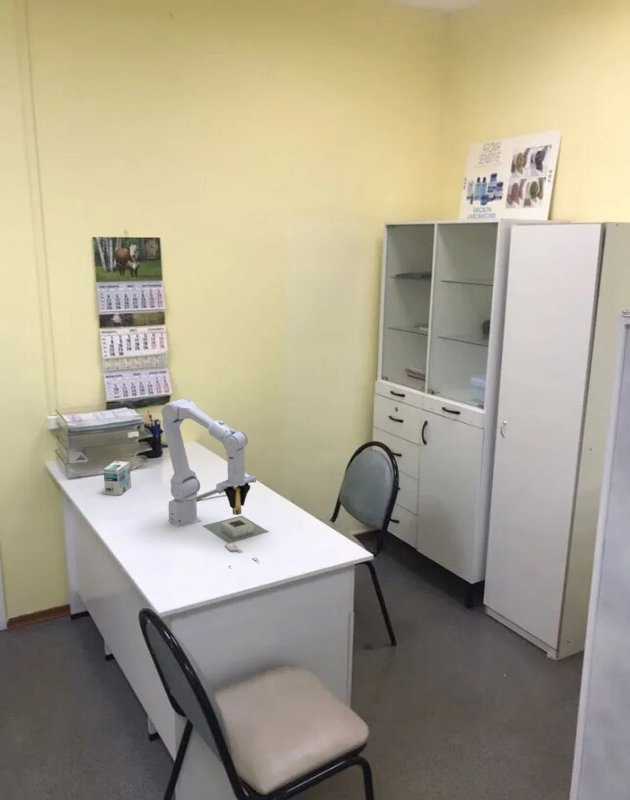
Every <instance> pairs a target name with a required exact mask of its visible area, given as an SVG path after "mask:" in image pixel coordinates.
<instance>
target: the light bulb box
mask: <svg viewBox="0 0 630 800" xmlns="http://www.w3.org/2000/svg"><path fill="white" fill-rule="evenodd" d="M103 479H104V481H103V483H104V494H105V495H110V496H122V495H123V494H124V493H125V492H127V491H128V490H129V489H130V488H132V478H131V462H129V461H122V460H121V461H119V460H114V461H113V462H111V463H110V464H108V465H107V466H105V468H103Z"/></svg>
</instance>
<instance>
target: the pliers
mask: <svg viewBox="0 0 630 800" xmlns="http://www.w3.org/2000/svg"><path fill="white" fill-rule="evenodd" d="M224 548H225V549H226V550H227V551H228V552H231V553H233V552H234V553H238V554H242V553H243V550H242V549H241V548H240V547H238V545H237V544H236V542H233V543H232V546H230V545H229V544H228V543H224ZM253 559H256V561H258V562H259V563H260V561H259V559H258V558H257V557H254V558H252V560H253ZM256 561H255V562H256ZM228 566H229V567H232V565H228ZM229 567H228V568H229Z"/></svg>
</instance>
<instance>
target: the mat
mask: <svg viewBox="0 0 630 800" xmlns="http://www.w3.org/2000/svg"><path fill="white" fill-rule="evenodd" d="M240 517H242V518H243V519H245V520H247V521H248V522H250V523H252V524H253V529H254V533H253V534H250V535H246V536H243V537H239V538H236V539H232V538H231V537H229V536H228V535H226V534H225V533H223V532H222V531H221V523H222V522H225V521H229V520H233V519H236V518H240ZM202 527H203V528H204V529H206V530H208V531H209V532H210V533H212V534H214V535H215V536H217V538H219V539H221V540H222V541H223V542H225V543H226V544H228V545H229V544H231V543H232V544H233V543H236V542H239V541H242V540H245V539H249V538H253V537H257V536H260V535H263V534H268V533H269V531H268V530H267V529H265V528H263V527H262V526H261V525H259V524H257V523H255V522H254V521H252V520H250V519H249V518H247V517H246V516H244V515H241V514H240V515H236V516H234V517H230V518H227V519H226V518H225V519H223V520H220V521H216V522H212V523H208V524H205V525H202Z"/></svg>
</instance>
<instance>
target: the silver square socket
mask: <svg viewBox="0 0 630 800" xmlns="http://www.w3.org/2000/svg"><path fill="white" fill-rule="evenodd" d="M221 531H222V532H223V533H225V534H226V535H228V536H229V537H231V538H232V539H236V538H239V537H243V536H246V535H250V534H253V533H254V529H253V524H252V523H250V522H248V521H247V520H245V519H243V518H242V517H240V518H236V519H233V520H229V521H225V522H222V523H221Z"/></svg>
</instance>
